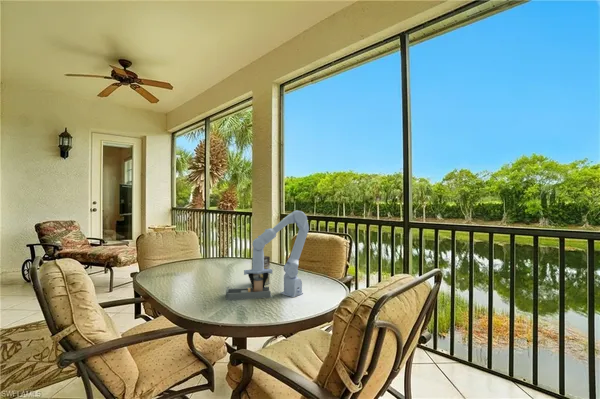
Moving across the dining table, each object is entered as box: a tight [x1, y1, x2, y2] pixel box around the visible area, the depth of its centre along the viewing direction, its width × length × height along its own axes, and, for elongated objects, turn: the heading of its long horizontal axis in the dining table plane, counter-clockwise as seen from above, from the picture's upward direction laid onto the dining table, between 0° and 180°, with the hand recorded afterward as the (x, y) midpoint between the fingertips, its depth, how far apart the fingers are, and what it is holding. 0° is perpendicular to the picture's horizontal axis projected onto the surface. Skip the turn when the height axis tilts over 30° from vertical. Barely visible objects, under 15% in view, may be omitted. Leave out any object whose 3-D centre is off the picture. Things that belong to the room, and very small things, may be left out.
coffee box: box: [250, 255, 271, 286], centre depth 173 cm, size 9×6×16 cm
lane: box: [225, 286, 273, 301], centre depth 153 cm, size 23×9×4 cm, turn 101°
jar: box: [253, 277, 263, 292], centre depth 153 cm, size 5×5×7 cm
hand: (258, 287), depth 154 cm, fingers closed on jar, 5 cm apart
